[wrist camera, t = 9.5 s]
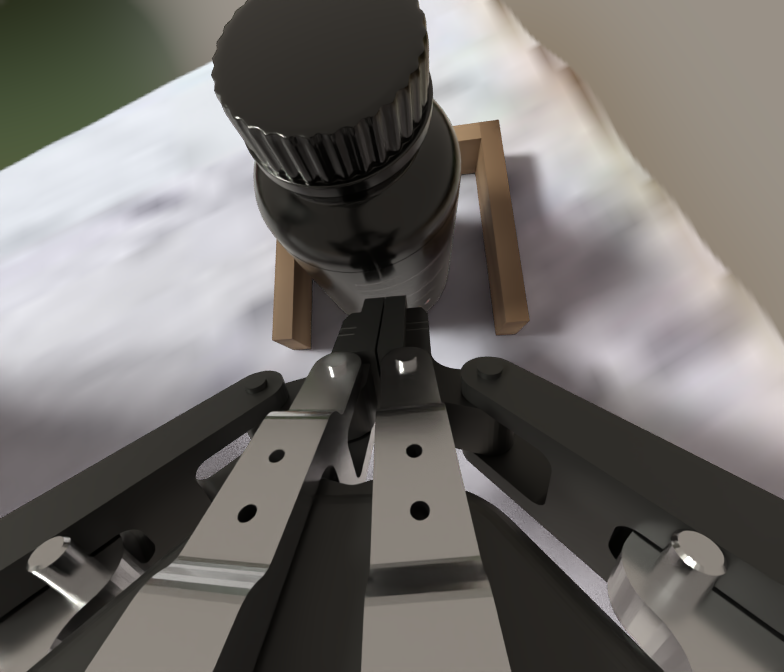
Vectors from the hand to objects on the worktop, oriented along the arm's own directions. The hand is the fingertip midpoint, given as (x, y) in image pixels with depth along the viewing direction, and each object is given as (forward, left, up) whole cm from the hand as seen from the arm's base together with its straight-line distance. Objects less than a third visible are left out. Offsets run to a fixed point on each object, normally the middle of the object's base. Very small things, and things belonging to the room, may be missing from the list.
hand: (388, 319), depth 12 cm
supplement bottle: (-1, +4, -6) cm, 7 cm away
